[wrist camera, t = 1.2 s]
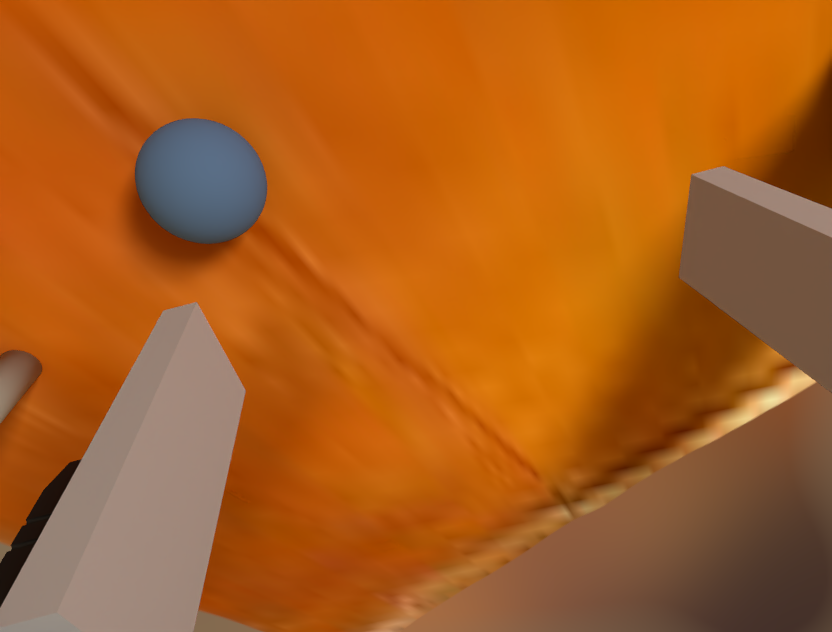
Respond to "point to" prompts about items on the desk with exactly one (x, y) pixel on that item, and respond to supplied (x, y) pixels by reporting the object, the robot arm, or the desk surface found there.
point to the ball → (201, 181)
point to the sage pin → (16, 378)
